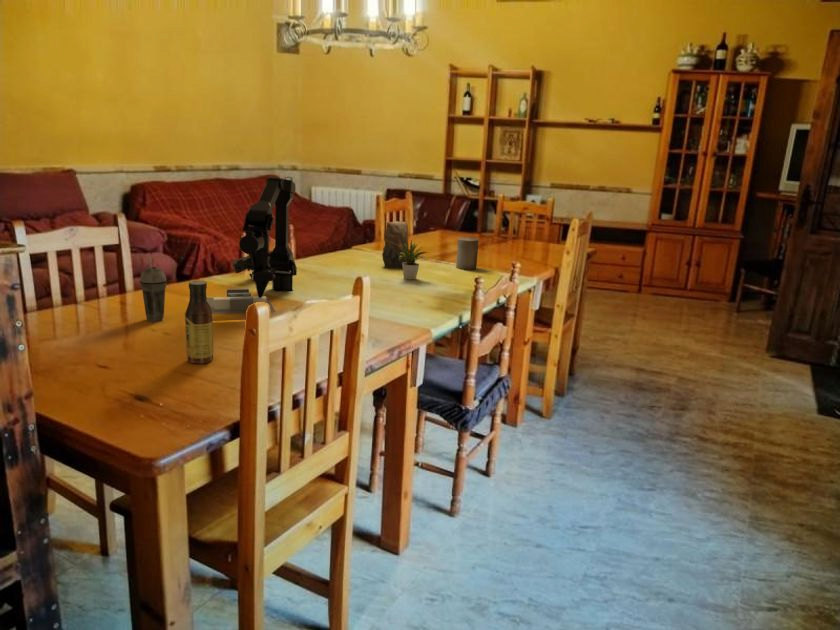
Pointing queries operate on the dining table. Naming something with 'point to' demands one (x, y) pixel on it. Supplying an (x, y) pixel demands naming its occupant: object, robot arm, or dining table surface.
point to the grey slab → (236, 302)
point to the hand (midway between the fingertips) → (259, 297)
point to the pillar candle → (467, 253)
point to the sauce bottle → (199, 325)
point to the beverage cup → (153, 292)
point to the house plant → (411, 261)
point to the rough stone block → (391, 252)
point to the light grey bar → (225, 301)
